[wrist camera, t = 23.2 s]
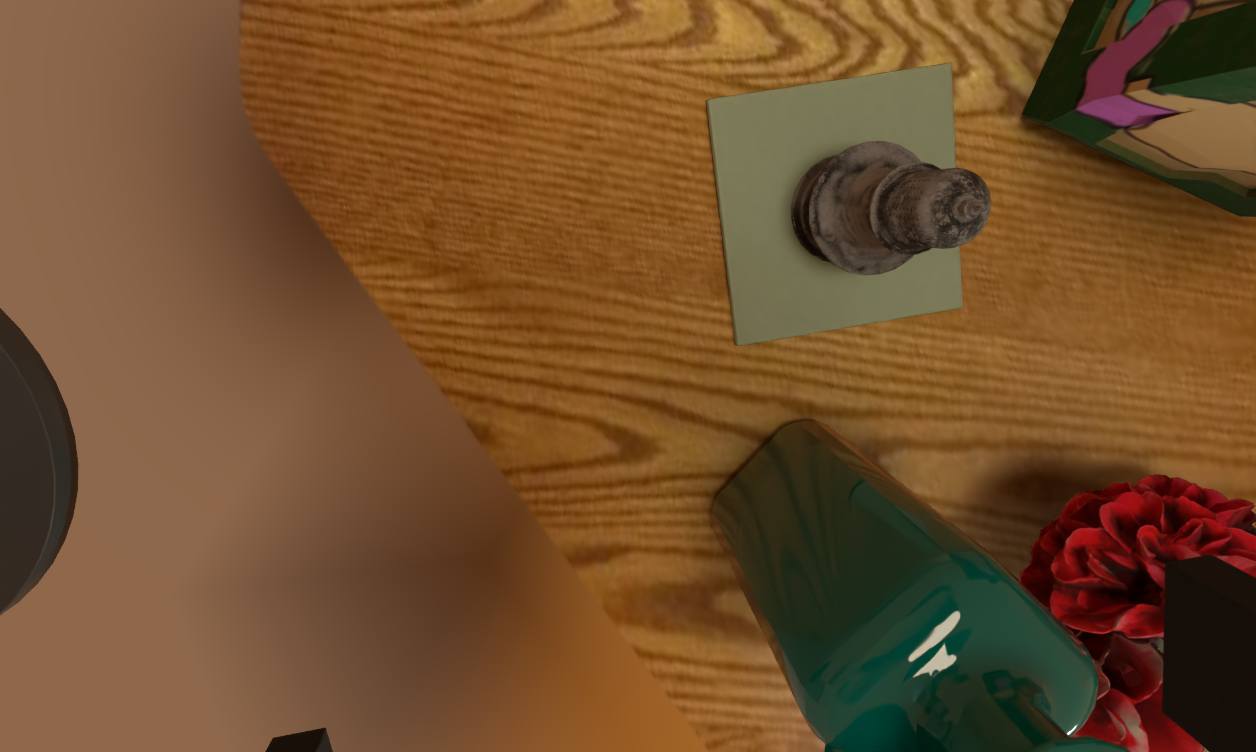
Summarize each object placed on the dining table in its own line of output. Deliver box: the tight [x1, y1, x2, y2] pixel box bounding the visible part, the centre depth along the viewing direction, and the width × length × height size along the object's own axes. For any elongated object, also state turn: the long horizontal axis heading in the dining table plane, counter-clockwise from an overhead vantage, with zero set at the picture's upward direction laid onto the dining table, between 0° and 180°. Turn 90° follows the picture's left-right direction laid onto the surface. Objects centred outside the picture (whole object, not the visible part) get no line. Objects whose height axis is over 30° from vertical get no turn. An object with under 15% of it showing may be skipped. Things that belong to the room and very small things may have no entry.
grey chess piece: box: [791, 141, 991, 275], centre depth 30 cm, size 6×6×12 cm
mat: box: [706, 63, 962, 346], centre depth 36 cm, size 12×12×1 cm
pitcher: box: [711, 420, 1131, 752], centre depth 29 cm, size 10×8×22 cm
